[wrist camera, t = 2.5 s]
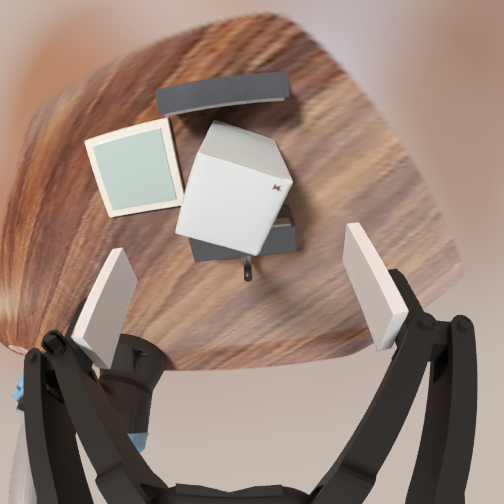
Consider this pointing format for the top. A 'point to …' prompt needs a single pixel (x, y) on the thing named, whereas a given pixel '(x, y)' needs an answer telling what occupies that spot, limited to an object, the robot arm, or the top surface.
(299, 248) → the top surface
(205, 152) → the supplement box
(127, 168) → the plate
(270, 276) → the top surface
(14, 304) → the top surface
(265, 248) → the vise
